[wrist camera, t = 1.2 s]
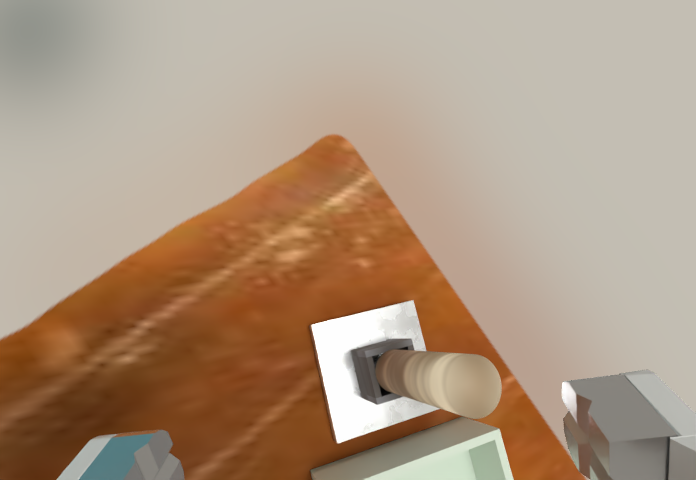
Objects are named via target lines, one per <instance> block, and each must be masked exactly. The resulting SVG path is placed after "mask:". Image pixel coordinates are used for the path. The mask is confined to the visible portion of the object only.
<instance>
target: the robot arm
mask: <svg viewBox="0 0 696 480" xmlns="http://www.w3.org/2000/svg"><path fill="white" fill-rule="evenodd" d="M562 400H563V401H564V403H565V405H566V406H567V408H568V410H569V411H568V413H567V414H566V416H565V417H564V418H563V421H564V432H565V437H566V441H567V445H568V449H569V451H570V454H571V456H572V459H573V461H574V463H575V465H576V467H577V468H578V470H579V472H580V473H582V474H583V475H585V476H586V477H588V478H589V479H590V480H696V413H695V412H694V411H693V410H692V409H691V408H690V407H689V406H688V405H687V404H686V403H685V402H684V401H683V400H682V399H681V398H680V397H679V396H678V395H677V394H676V393H675V392H674V391H673V390H672V389H671V388H670V387H669V386H668V385H666V384H665V383H664V382H663V381H662V380H661V379H660V378H659V377H658V376H657V375H656V374H655V373H654V372H652V371H650V370H642V371H634V372H628V373H620V374H619V375H611V376H603V377H595V378H587V379H579V380H571V381H564V382H563V385H562ZM172 446H173V443H172V440H171V438H170V436H169V434H168V432H167V431H164V430H151V431H140V432H129V433H119V434H112V435H102V436H97V437H95V438H93V439H91V440H90V441H89V442H88V443H87V444H86V445H85V447H84V448H83V449H82V450H81V451H80V452H79V454H78V455H77V456H76V457H75V458H74V460H73V461H72V462H71V463H70V464H69V465H68V467H67V468H66V469H65V470H64V471H63V473H62V474H61V475H60V476H59V477H58V478H57V480H184V472H183V468H182V465H181V463H180V460H178V459H177V458H176V457H174V456H173V455H172V454H170V451H171V448H172Z"/></svg>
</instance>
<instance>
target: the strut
mask: <svg viewBox="0 0 696 480" xmlns="http://www.w3.org/2000/svg"><path fill="white" fill-rule="evenodd" d="M381 353H383V354H382V355H381V356H380V357H379V359H378V361H377V363H376V368H375V366H374V362H373V358H372V356H374V355H378V354H381ZM351 355H352V359H353V363H354V368H355V372H356V376H357V381H358V385H359V389H360V394H361V398H363V399H365V400H367V401H369V402H372V403H374V404H376V405H379V404H382V403H385V402H388V401H392V400H395V399H398V398H401V397H407V398H410V399H413V400H416V401H419V402H422V403H425V404H428V405H431V406H434V407H437V408H440V409H443V410H446V411H449V412H453V413H456V414H459V415H462V416H465V417H468V418H472V419H479V418H483V417H485V416H487V415H489V414H490V413H491V412H493V410H494V409H495V408H496V406H497V405H498V403H499V400H500V396H501V380H500V376H499V373H498V371H497V369H496V368H495V366H494V365H493V364H492V363H491V362H490V361H489V360H488V359H486V358H485V357H483V356H480V355H475V354H460V353H445V352H429V351H415V350H414V346H413V342H412V339H389V340H386V341H382V342H378V343H375V344H371V345H367V346H363V347H360V348H356V349H352V350H351ZM379 384H380V386H379Z"/></svg>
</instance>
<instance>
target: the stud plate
mask: <svg viewBox="0 0 696 480" xmlns="http://www.w3.org/2000/svg"><path fill="white" fill-rule="evenodd" d="M309 328H310V333H311V337H312V342H313V346H314V351H315V356H316V360H317V365H318V369H319V374H320V379H321V383H322V388H323V393H324V397H325V402H326V406H327V411H328V416H329V420H330V425H331V429H332V434H333V439H334V441H335V442H336V443H340V442H343V441H346V440H349V439H352V438H355V437H358V436H361V435H364V434H367V433H370V432H373V431H376V430H379V429H382V428H385V427H388V426H390V425H393V424H396V423H399V422H402V421H405V420H408V419H411V418H414V417H417V416H420V415H423V414H426V413H429V412H432V411H435V410H438V409H440V408H437V407H434V406H431V405H428V404H425V403H422V402H419V401H416V400H413V399H410V398H407V397H401V398H398V399H395V400H392V401H388V402H385V403H382V404H379V405H376V404H374V403H372V402H369V401H367V400H365V399H363V398H361V394H360V389H359V385H358V381H357V376H356V372H355V368H354V363H353V359H352V355H351V350H352V349H356V348H360V347H363V346H367V345H371V344H375V343H378V342H382V341H386V340H389V339H412V342H413V346H414V350H415V351H426V348H425V344H424V340H423V336H422V332H421V328H420V324H419V321H418V317H417V313H416V309H415V305H414V301H413V300H412V301H407V302H403V303H399V304H395V305H391V306H387V307H383V308H379V309H374V310H370V311H366V312H362V313H358V314H354V315H350V316H346V317H342V318H338V319H333V320H329V321H325V322H321V323H317V324H313V325H309ZM382 354H383V353H381V354H378V355H374V356H372V358H373V362H374V366H375V368H376V363H377V361H378V359H379V357H380V356H381V355H382ZM379 386H380V384H379Z"/></svg>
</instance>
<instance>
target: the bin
mask: <svg viewBox="0 0 696 480" xmlns="http://www.w3.org/2000/svg"><path fill="white" fill-rule="evenodd" d="M310 472H311V477H312V480H513V476H512V473H511V469H510V465H509V462H508V458H507V455H506V451H505V447H504V444H503V440H502V437H501V433H500V429H499V428H496V427H493V426H490V425H487V424H484V423H481V422H477V421H474V420H471V419H468V418H465V417H460V418H457V419H454V420H451V421H448V422H445V423H443V424H440V425H437V426H434V427H431V428H428V429H426V430H423V431H420V432H417V433H414V434H411V435H408V436H406V437H403V438H400V439H397V440H394V441H391V442H389V443H386V444H383V445H380V446H377V447H374V448H372V449H369V450H366V451H363V452H360V453H357V454H354V455H352V456H349V457H346V458H343V459H340V460H337V461H335V462H332V463H329V464H326V465H323V466H320V467H318V468H315V469H312V470H310Z"/></svg>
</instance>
